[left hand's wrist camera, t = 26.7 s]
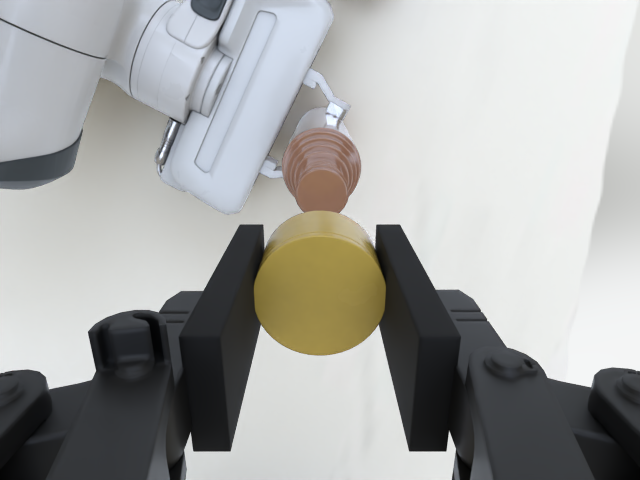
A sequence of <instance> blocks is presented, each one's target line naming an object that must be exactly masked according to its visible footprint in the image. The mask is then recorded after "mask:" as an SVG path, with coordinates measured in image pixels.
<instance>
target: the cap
mask: <svg viewBox="0 0 640 480" xmlns="http://www.w3.org/2000/svg"><path fill="white" fill-rule="evenodd" d="M385 296H386V283H385V279H384V276H383V273H382V270H381V267H380V264H379V261H378V257H377V254H376V251H375V248H374V246H373V243H372V241H371V239H370V237H369V236H368V234H367V233H366V232H365V231H364V229H363V228H362V227H361V226H360V225H359V224H357V223H356V222H355V221H353V220H352V219H350V218H348V217H346V216H344V215H341V214H339V213H335V212H331V211H310V212H305V213H301V214H298V215H296V216H294V217H292V218H290V219H288V220H287V221H285V222H284V223H283V224H281V225H280V226H279V227H278V228H277V229H276V230H275V231H274V233H273V234H272V235H271V237H270V239H269V241H268V242H267V245H266V248H265V251H264V254H263V257H262V260H261V263H260V266H259V269H258V272H257V275H256V278H255V282H254V301H255V312H256V315H257V317H258V319H259V321H260V323H261V325H262V326H263V328H264V329H265V330H266V332H267V333H268V334H269V335H270V336H271V337H272V338H273V339H275V340H276V341H277V342H278V343H280V344H282V345H283V346H285V347H287V348H289V349H291V350H293V351H296V352H299V353H304V354H308V355H331V354H336V353H340V352H343V351H346V350H349V349H351V348H353V347H355V346H357V345H358V344H360V343H361V342H363V341H364V340H365V339H366V338H367V337H369V336H370V335H371V333H372V332H373V331H374V330H375V329H376V327H377V326H378V324H379V323H380V321H381V319H382V317H383V314H384V311H385Z"/></svg>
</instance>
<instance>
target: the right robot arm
mask: <svg viewBox="0 0 640 480" xmlns="http://www.w3.org/2000/svg"><path fill="white" fill-rule="evenodd" d="M333 19H334V14H333V11H332V8H331V5H330V3H329V2H328V1H327V0H184V1H183V2H182V4H181V3H179V2H177V1H175V0H0V188H3V189H30V188H34V187H38V186H41V185H44V184H47V183H49V182H52V181H54V180H56V179H58V178H60V177H62V176H64V175H66V174H67V173H69V172H70V171H71V170H72V169H73V167H74V164H75V160H76V156H77V152H78V148H79V144H80V140H81V136H82V131H83V129H82V127H83V124H84V121H85V118H86V115H87V112H88V110H89V107H90V104H91V101H92V98H93V96H94V93H95V90H96V87H97V84H98V81H99V79H100V78H104V79H107V80H109V81H111V82H113V83H115V84H116V85H118V86H119V87H120V88H121V89H122V90H123V91H124V92H126V93H127V94H128V95H129V96H131V97H132V98H134V99H136V100H138V101H140V102H142V103H144V104H146V105H148V106H150V107H152V108H154V109H156V110H158V111H159V112H161V113H163V114H165V115H167V116H169V117H170V119H169V121H168V124H167V126H166V129H165V132H164V135H163V139H162V142H161V145H160V148H158V150H157V152H156V155H155V160H154V161H155V162H156V163H157V172H158V175H159V177H160V179H161V180H162V181H163V182H164V183H166V184H168V185H170V186H172V187H174V188H176V189H178V190H181V191H184V192H189V193H191V194H192V195H194V196H195V197H197V198H198V199H200V200H201V201H203V202H204V203H206V204H208V205H209V206H211V207H213V208H214V209H216V210H218V211H220V212H222V213H224V214H234V213H238V212H240V211H241V209H242V208H243V206H244V204H245V202H246V200H247V198H248V196H249V193H250V191H251V189H252V187H253V185H254V183H255V181H256V179H257V177H258V175H259V173H261V174H263V175H265V176H267V177H269V178H283V174H282V166H277V164H278V160H276V159H274V158H272V157H271V156H269V155H268V154H269V152H270V150H271V148H272V146H273V144H274V142H275V140H276V138H277V136H278V134H279V131H280V129H281V127H282V125H283V123H284V121H285V119H286V117H287V115H288V113H289V111H290V109H291V107H292V105H293V103H294V100H295V98H296V96H297V94H298V92H299V90H300V88H301V86H302V84H305V85H307V86H309V87H310V88H312V89H314V88H315V87H316V85H317V83H318V85H319V86H320V88H321V90H322V91H323V93H324V95H325V96H326V98H327V100H328V101H329V104H328V106H327V108H326V112H327V113H329V114H331V115H336V117H337V118H338V119H340V120H342V121H343V120H344V118H345V116H346V114H347V113H348V111H349V109H350V107H351V106H350V105H349V104H347V103H345V102H344V101H342V100H340V99H338V98H337V97H335V96H334V94H333V92H332V91H331V89H330V87H329V86H328V84H327V82H326V81H325V79H324V77H323V76H322V74H320V73H318V72H317V71H315V70H313V69H311V68H310V67H311V65H312V63H313V61H314V59H315V57H316V55H317V53H318V51H319V49H320V47H321V45H322V43H323V41H324V38H325V36H326V34H327V32H328V30H329V28H330V26H331V24H332V22H333ZM171 147H172V148H171ZM161 165H164V167H163V170H161ZM276 166H277V167H276Z"/></svg>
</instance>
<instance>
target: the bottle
mask: <svg viewBox="0 0 640 480" xmlns="http://www.w3.org/2000/svg"><path fill="white" fill-rule="evenodd" d="M360 173H361V160H360V156H359V153H358V150H357V148H356V146H355V145H354V143H353V141H352V139H351V137H350V135H349V133H348V131H347V129H346V127H345V125H344V123H343V121H342V120H340V119H338V118H337V117H336V115H331V114H329V113H327V112H326V108H324V107H318V108H313V109H311V110H309V111H307V112H306V113H305V114H304V115H303V116H302V117H301V119H300V121H299V123H298V125H297V127H296V129H295V131H294V133H293V135H292V138H291V140H290V142H289V144H288V146H287V148H286V150H285V153H284V155H283V159H282V174H283V178H284V181H285V184H286V186H287V188H288V189H289V191H290V192H291V194H292V195H293V196H294V197H295V199H296V201H297V204H298V206H299V207H300V208H301V210H302V211H303V212H310V211H331V212H335V213H340V212H341V210H342V209H343V208H344V207H345V205H346V203H347V201H348V197H349V196H350V195H351V193H352V192H353V191H354V189H355V188H356V185H357V183H358V181H359V178H360Z"/></svg>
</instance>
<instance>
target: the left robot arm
mask: <svg viewBox="0 0 640 480" xmlns="http://www.w3.org/2000/svg"><path fill="white" fill-rule="evenodd" d="M264 251H265V250H264V229H263V225H239V227H238V229H237V231H236V233H235V235H234V236H233V238H232V240H231V242H230V244H229V245H228V247H227V249H226V251H225V253H224V255H223V256H222V258H221V260H220V262H219V264H218V266H217V267H216V269H215V271H214V273H213V275H212V276H211V278H210V280H209V282H208V284H207V286H206V287H205V289H204V291H181V292H179V293H178V294H176V295H175V296H173V297H172V298H170V299H169V300H167V301H166V302H165V304H164V305H163V307H162V308H161V310H160V311H159V313H158V312H154V311H150V310H133V311H127V312H121V313H118V314H115V315H112V316H109V317H107V318H105V319H103V320H101V321H100V322H98V323H96V324H95V325H94V326H93V327H92V328H91V329H90V330H89V331H88V334H89V339H90V344H91V349H92V353H93V358H94V363H95V367H96V373H95V375H94V377H93V379H92V380H90V381H87V382H83V383H79V384H74V385H69V386H64V387H59V388H54V389H49V388H48V384H47V380H46V377H45V376H44V375H43V374H41V373H40V372H38V371H33V370H17V371H9V372H5V373H0V480H185V479H186V470H187V469H186V461H185V454H184V448H185V446H186V443H187V440H188V438H189V435H190V432H191V437H192V444H193V451H231V447H232V443H233V438H234V434H235V430H236V426H237V422H238V418H239V413H240V409H241V405H242V401H243V397H244V393H245V388H246V384H247V380H248V376H249V372H250V368H251V363H252V359H253V355H254V351H255V347H256V343H257V338H258V334H259V330H260V326H261V323H260V321H259V319H258V317H257V315H256V312H255V301H254V282H255V278H256V275H257V272H258V269H259V266H260V263H261V260H262V257H263V254H264ZM375 251H376V254H377V257H378V261H379V264H380V267H381V270H382V273H383V276H384V279H385V283H386V296H385V311H384V314H383V317H382V319H381V321H380V323H379V327H380V331H381V335H382V340H383V344H384V348H385V352H386V356H387V360H388V365H389V369H390V373H391V377H392V381H393V385H394V390H395V394H396V398H397V402H398V406H399V410H400V415H401V419H402V423H403V427H404V431H405V436H406V440H407V444H408V448H409V451H446V450H447V442H448V434H449V431H450V433H451V436H452V439H453V442H454V444H455V447H456V454H455V461H454V468H453V476H452V480H640V371H635V370H632V369H624V368H607V369H602V370H600V371H599V372H598V373H596V374H595V375H594V379H593V383H592V387H586V386H581V385H576V384H571V383H566V382H561V381H557V380H553V379H549V378H547V376H546V374H545V372H544V370H543V369H542V368H541V366H540V365H539V364H538V362H536V361H535V360H534V359H532V358H531V357H529V356H528V355H526V354H524V353H521V352H519V351H516V350H514V349H510V348H507V347H506V346H505V344H504V343H503V341H502V340H501V339H500V337H499V336H498V334H497V333H496V331H495V330H494V328H493V327H492V326H491V324H490V323H489V321H487V318H486V317H485V316H484V314H483V313H482V312H481V310H480V308H479V307H478V305H477V304H476V303H475V301H474V300H473V299H472V298H471V297H469V296H467V295H466V294H464V293H463V292H461V291H460V290H435V288H434V286H433V284H432V283H431V281H430V279H429V277H428V275H427V273H426V272H425V270H424V268H423V266H422V264H421V262H420V261H419V259H418V257H417V255H416V253H415V251H414V250H413V248H412V246H411V244H410V242H409V241H408V239H407V237H406V235H405V233H404V231H403V230H402V228H401V226H400V225H376V244H375Z"/></svg>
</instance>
